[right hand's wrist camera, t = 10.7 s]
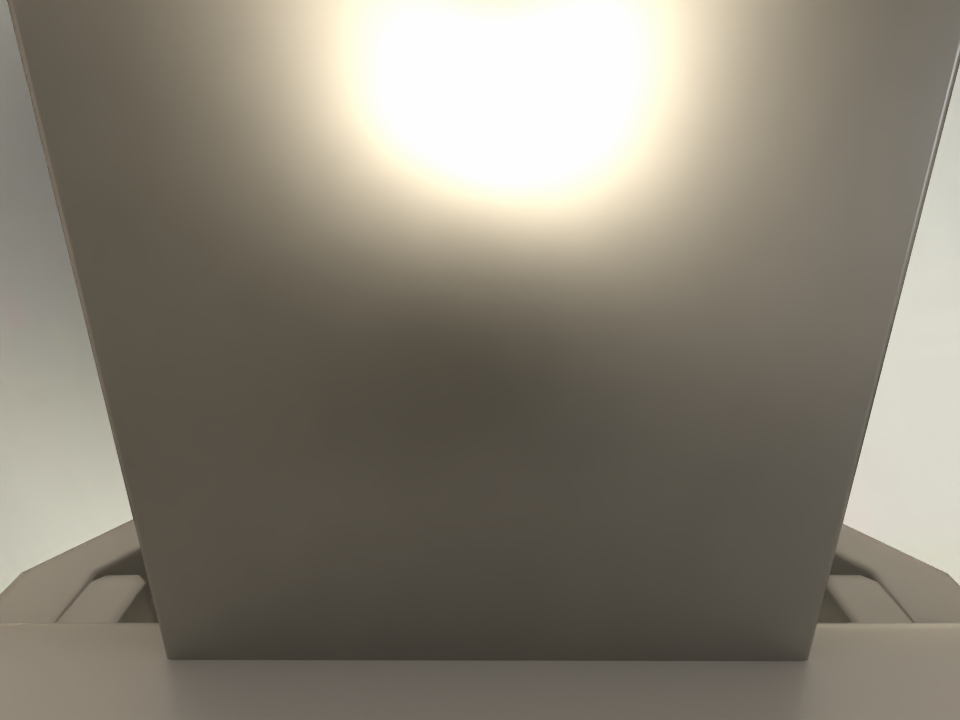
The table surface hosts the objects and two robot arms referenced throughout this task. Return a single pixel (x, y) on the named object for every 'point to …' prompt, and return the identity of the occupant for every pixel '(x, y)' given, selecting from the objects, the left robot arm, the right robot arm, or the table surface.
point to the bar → (489, 308)
